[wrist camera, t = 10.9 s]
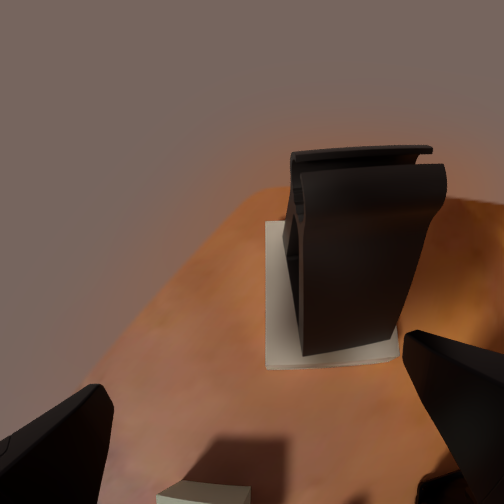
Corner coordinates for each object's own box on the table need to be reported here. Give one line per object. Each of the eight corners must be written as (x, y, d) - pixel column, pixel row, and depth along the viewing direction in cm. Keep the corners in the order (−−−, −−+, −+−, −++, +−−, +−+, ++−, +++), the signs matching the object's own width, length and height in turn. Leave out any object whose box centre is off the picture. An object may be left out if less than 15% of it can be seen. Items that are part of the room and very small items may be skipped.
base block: (369, 235, 25) (376, 218, 23) (388, 361, 20) (399, 355, 17) (267, 238, 26) (265, 221, 24) (267, 369, 20) (265, 365, 18)
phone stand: (388, 341, 18) (490, 252, 8) (301, 357, 18) (327, 281, 8) (357, 229, 23) (395, 96, 12) (282, 238, 23) (276, 98, 12)
